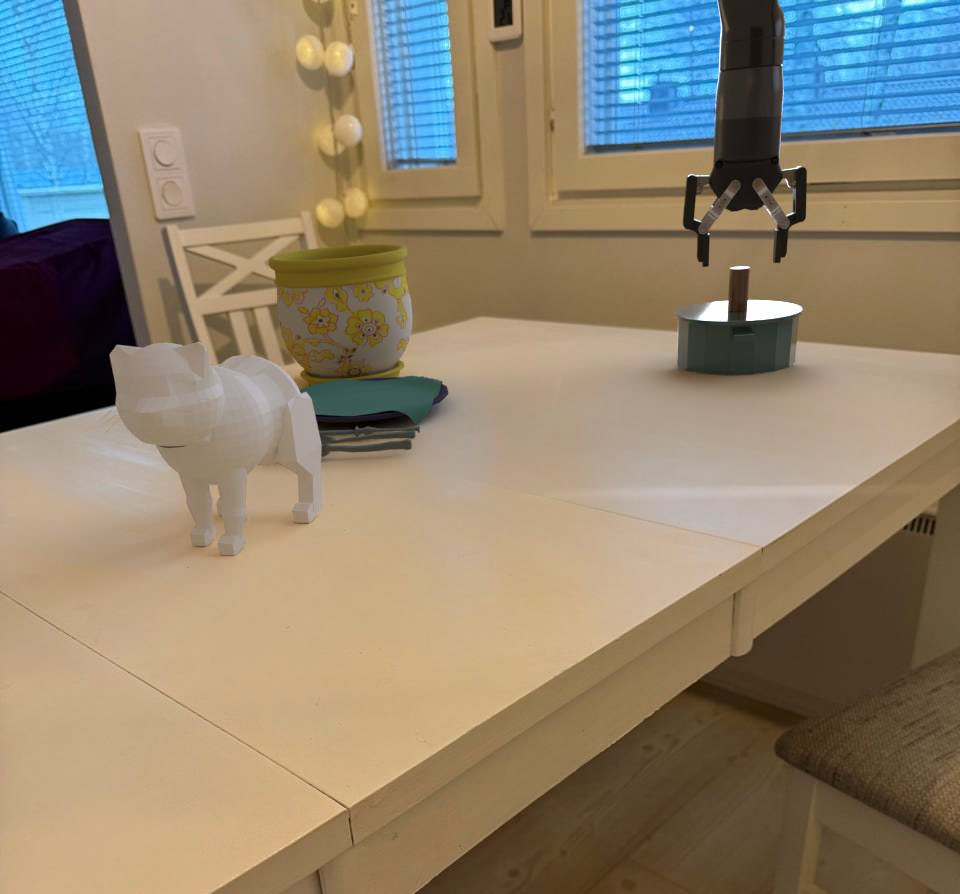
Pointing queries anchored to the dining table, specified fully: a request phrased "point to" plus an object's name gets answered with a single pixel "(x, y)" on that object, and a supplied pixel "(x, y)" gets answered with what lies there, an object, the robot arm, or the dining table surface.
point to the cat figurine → (219, 428)
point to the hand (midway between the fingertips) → (740, 264)
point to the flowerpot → (344, 310)
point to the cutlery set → (373, 408)
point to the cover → (738, 306)
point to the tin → (736, 347)
